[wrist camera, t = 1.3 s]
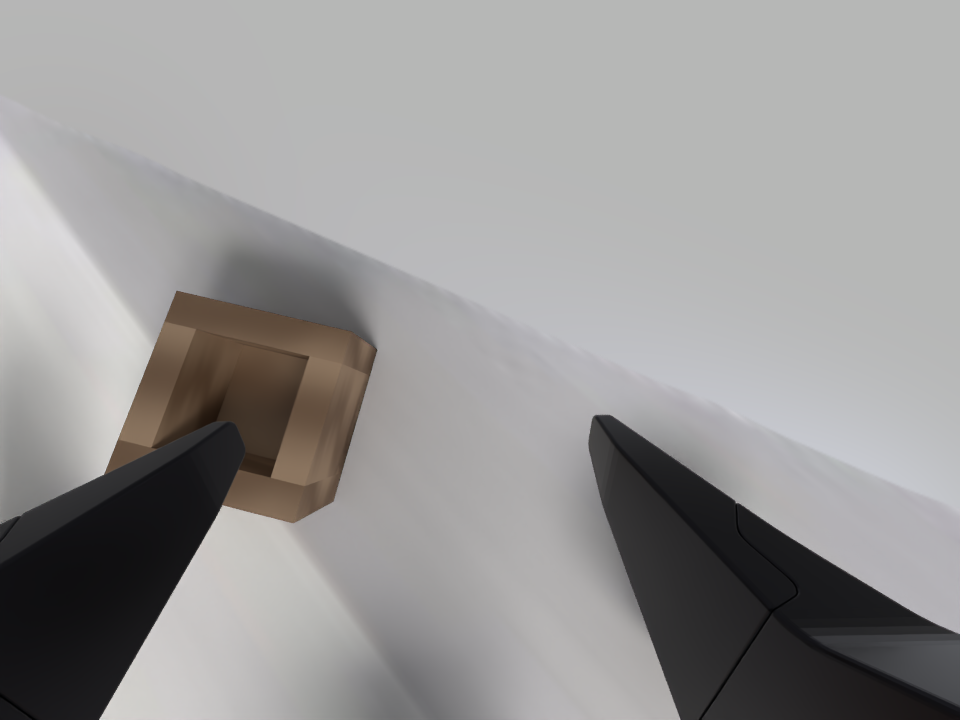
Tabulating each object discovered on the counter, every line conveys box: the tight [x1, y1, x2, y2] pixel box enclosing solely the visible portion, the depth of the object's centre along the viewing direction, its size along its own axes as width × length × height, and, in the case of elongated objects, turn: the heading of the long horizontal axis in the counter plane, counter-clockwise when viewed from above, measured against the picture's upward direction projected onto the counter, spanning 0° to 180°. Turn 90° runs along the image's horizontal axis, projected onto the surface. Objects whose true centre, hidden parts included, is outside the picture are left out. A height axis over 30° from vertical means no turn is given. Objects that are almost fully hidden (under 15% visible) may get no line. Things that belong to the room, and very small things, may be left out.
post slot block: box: [104, 291, 377, 523], centre depth 21 cm, size 10×10×5 cm
